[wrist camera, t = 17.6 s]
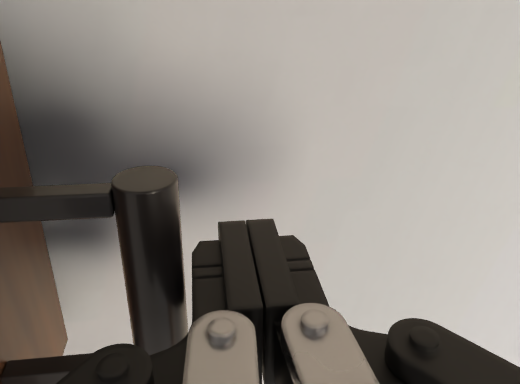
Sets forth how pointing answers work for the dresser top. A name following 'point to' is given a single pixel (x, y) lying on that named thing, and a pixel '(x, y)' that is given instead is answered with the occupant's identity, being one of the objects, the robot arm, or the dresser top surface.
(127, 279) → the drawer
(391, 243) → the dresser top surface
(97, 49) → the dresser top surface
